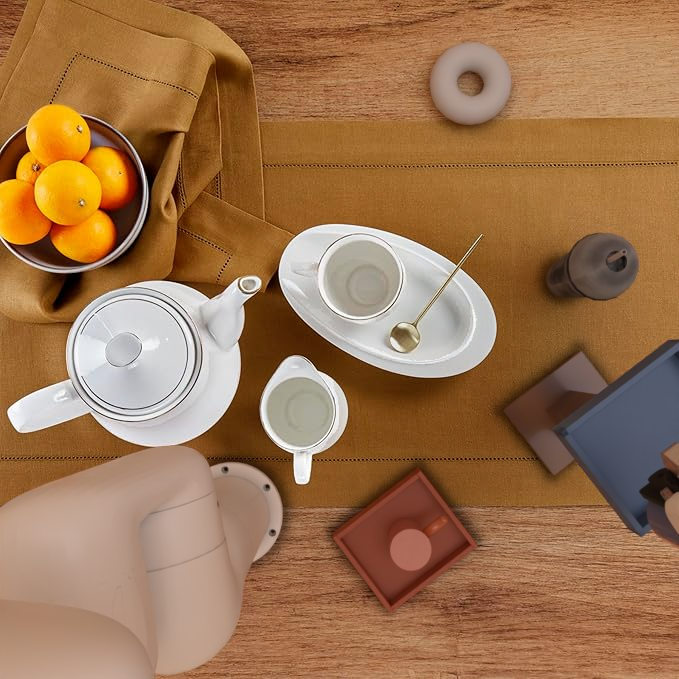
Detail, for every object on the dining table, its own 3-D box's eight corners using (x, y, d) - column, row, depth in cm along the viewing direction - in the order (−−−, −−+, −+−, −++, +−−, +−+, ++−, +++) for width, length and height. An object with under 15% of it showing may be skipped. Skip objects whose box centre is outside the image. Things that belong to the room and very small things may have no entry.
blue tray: (628, 529, 58) (641, 537, 55) (551, 429, 58) (560, 432, 55) (746, 439, 58) (764, 443, 55) (668, 339, 58) (682, 338, 56)
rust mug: (403, 565, 79) (406, 579, 74) (379, 533, 79) (381, 545, 74) (454, 525, 79) (461, 537, 74) (430, 494, 79) (436, 503, 74)
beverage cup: (587, 314, 80) (668, 300, 60) (529, 302, 80) (590, 285, 60) (599, 256, 80) (683, 223, 60) (541, 244, 80) (605, 208, 60)
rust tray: (388, 605, 79) (389, 614, 77) (332, 532, 80) (332, 538, 77) (474, 540, 80) (478, 546, 77) (418, 467, 80) (420, 470, 77)
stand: (551, 474, 80) (629, 520, 58) (501, 409, 80) (560, 430, 58) (628, 415, 80) (736, 438, 58) (578, 350, 80) (667, 348, 58)
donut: (493, 40, 81) (417, 63, 81) (500, 25, 78) (420, 50, 78) (517, 115, 81) (441, 139, 81) (526, 104, 77) (446, 129, 77)
